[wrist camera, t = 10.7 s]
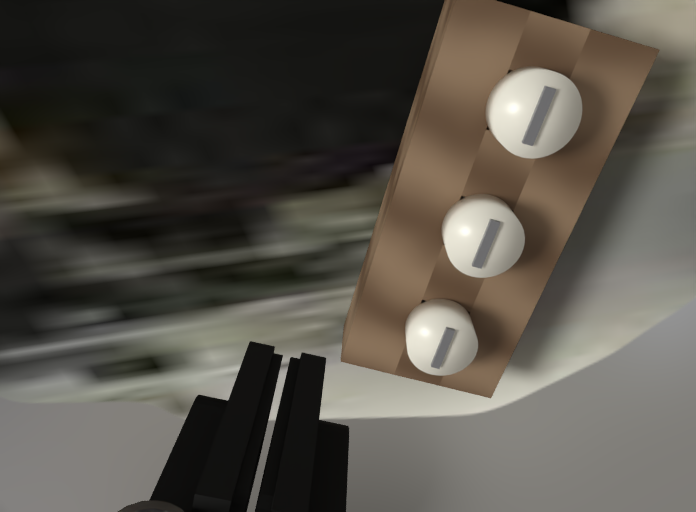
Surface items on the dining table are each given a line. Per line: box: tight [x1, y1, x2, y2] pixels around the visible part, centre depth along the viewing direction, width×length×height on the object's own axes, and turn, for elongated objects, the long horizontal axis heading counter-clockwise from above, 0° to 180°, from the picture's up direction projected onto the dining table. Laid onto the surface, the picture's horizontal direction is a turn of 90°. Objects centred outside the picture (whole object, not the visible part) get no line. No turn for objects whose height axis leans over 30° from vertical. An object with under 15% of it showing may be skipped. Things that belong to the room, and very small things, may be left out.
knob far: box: [405, 299, 478, 376], centre depth 39 cm, size 5×5×7 cm
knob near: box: [486, 66, 582, 159], centre depth 32 cm, size 5×5×7 cm
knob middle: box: [442, 194, 525, 278], centre depth 35 cm, size 5×5×7 cm
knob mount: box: [341, 0, 659, 398], centre depth 37 cm, size 26×12×5 cm, turn 165°
